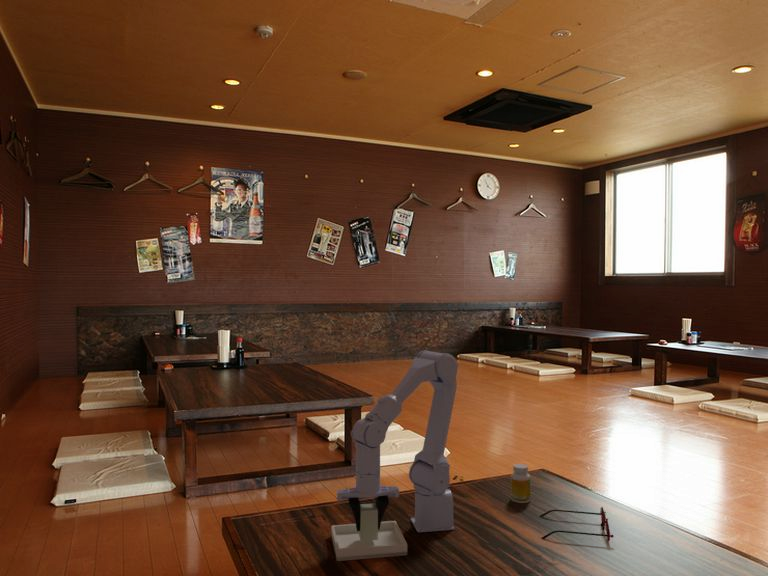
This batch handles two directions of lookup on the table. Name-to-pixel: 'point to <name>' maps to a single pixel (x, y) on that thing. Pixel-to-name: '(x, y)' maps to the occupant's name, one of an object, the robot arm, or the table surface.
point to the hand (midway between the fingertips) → (368, 528)
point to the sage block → (368, 522)
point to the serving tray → (368, 542)
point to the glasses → (581, 532)
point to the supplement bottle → (520, 484)
